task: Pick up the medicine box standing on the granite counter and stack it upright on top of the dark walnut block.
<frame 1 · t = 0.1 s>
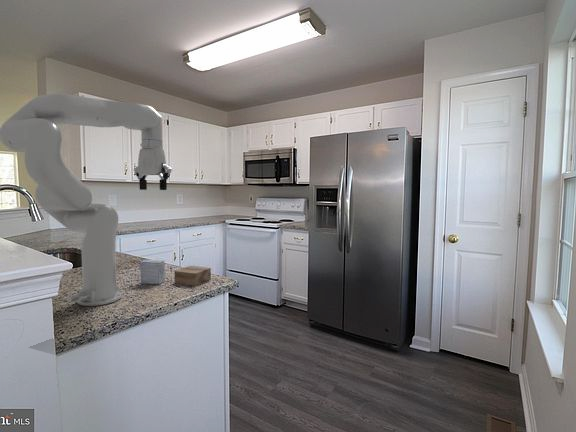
hand: (153, 189, 122), 37 cm above the worktop, tool pointing down, fingers open, 9 cm apart
medicine box: (152, 283, 123), on the worktop
walnut block: (193, 281, 126), on the worktop
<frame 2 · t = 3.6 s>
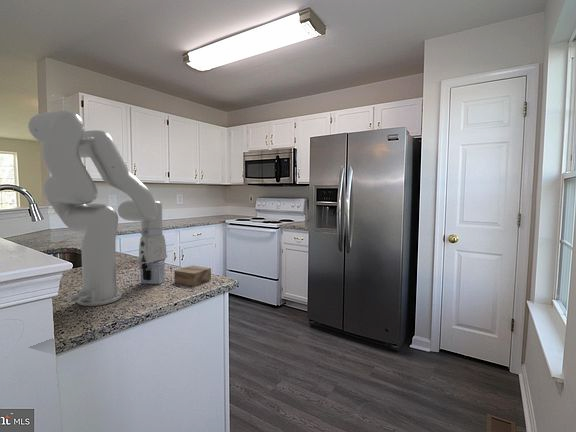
hand: (152, 277, 122), 2 cm above the worktop, tool pointing down, fingers closed on medicine box, 5 cm apart
medicine box: (152, 283, 123), on the worktop, touching gripper
everything else where it was.
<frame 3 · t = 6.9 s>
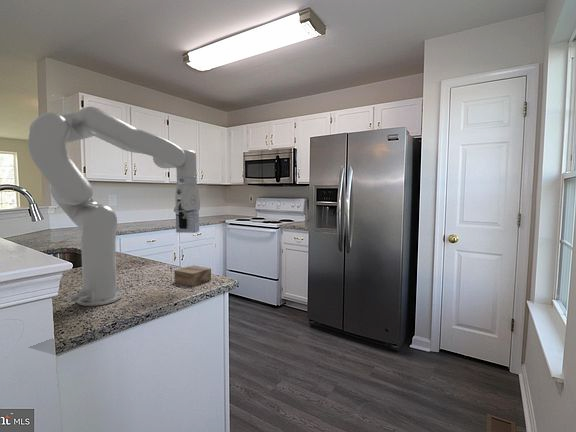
hand: (187, 227, 124), 22 cm above the worktop, tool pointing down, fingers closed on medicine box, 5 cm apart
medicine box: (187, 232, 124), point 20 cm above the worktop, touching gripper
everything else where it was.
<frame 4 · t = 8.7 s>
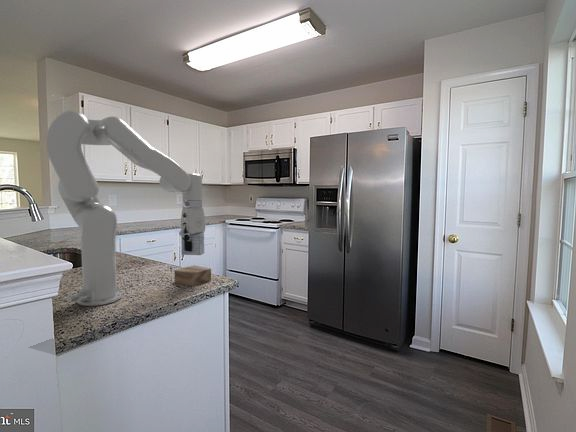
hand: (193, 249, 125), 13 cm above the worktop, tool pointing down, fingers closed on medicine box, 5 cm apart
medicine box: (193, 254, 125), point 11 cm above the worktop, touching gripper
everything else where it was.
when the fingers open (8 cm above the worktop, at t = 10.4 s): medicine box drops 2 cm, resting on walnut block.
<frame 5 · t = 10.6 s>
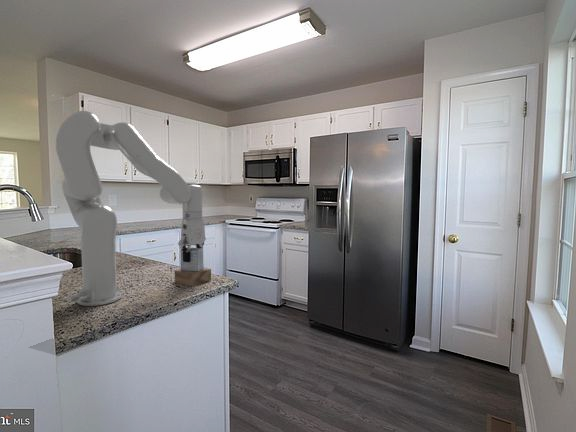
hand: (192, 259, 125), 9 cm above the worktop, tool pointing down, fingers open, 7 cm apart
medicine box: (192, 270, 125), point 4 cm above the worktop, touching walnut block
walnut block: (193, 281, 126), on the worktop, touching medicine box
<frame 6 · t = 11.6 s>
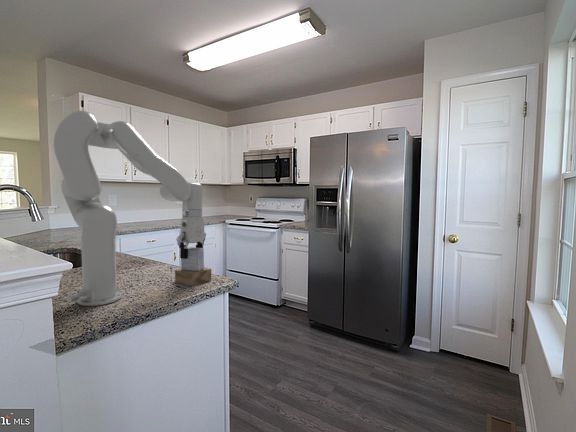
hand: (192, 256, 125), 10 cm above the worktop, tool pointing down, fingers open, 9 cm apart
nothing on the worktop moved.
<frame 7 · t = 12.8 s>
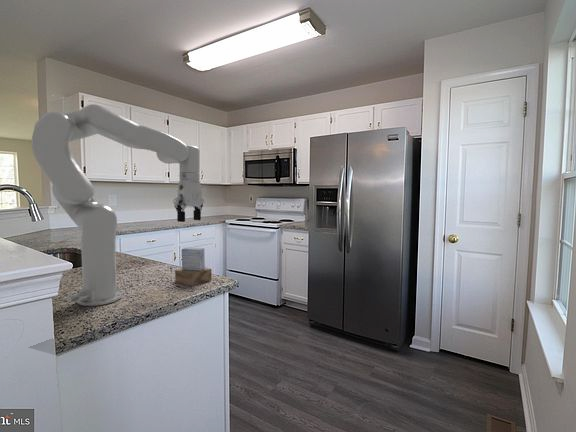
hand: (189, 220, 124), 24 cm above the worktop, tool pointing down, fingers open, 9 cm apart
nothing on the worktop moved.
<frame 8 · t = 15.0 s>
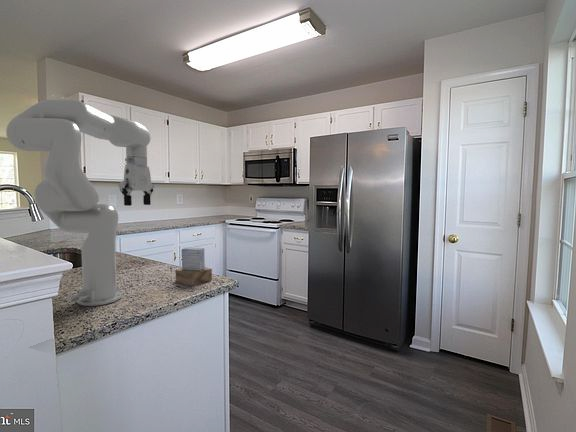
hand: (137, 205, 125), 30 cm above the worktop, tool pointing down, fingers open, 9 cm apart
nothing on the worktop moved.
at the end: medicine box 0.1 cm off-centre on the walnut block, point 4.8 cm above the walnut block's base; medicine box tilted 0°; the gripper is holding nothing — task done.
